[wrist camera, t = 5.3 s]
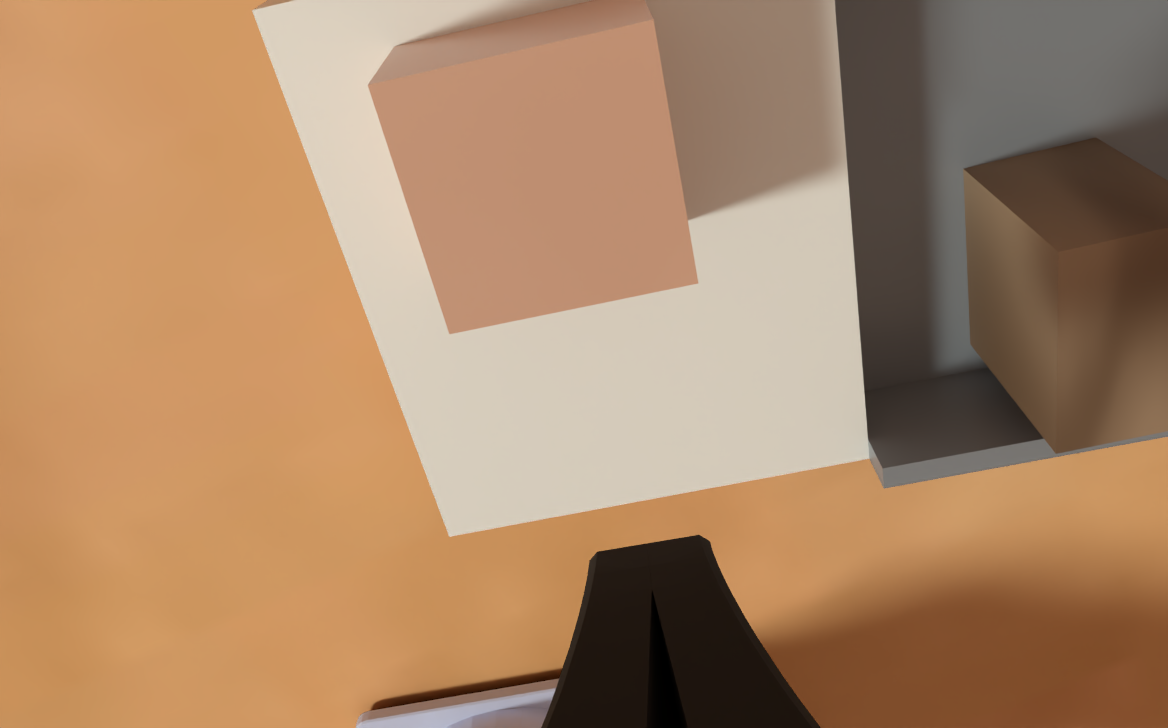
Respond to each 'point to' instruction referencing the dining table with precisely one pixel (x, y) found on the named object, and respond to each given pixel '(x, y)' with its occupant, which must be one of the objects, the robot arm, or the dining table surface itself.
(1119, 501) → the dining table surface
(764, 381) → the white board
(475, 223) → the terracotta tile
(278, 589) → the dining table surface
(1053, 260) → the walnut block
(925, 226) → the grey box
